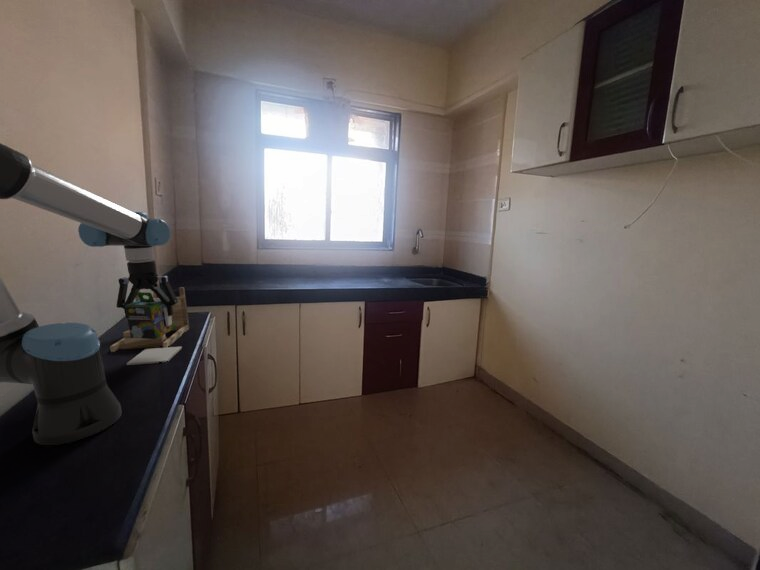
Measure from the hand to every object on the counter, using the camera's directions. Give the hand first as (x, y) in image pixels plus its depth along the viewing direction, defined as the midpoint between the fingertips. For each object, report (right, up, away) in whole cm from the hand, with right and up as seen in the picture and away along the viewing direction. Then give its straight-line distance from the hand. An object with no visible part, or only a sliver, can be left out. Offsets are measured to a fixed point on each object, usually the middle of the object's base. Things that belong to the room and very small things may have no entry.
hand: (151, 326), depth 112 cm
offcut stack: (-10, -9, +11) cm, 18 cm away
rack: (-12, -7, +18) cm, 23 cm away
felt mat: (0, -11, +2) cm, 11 cm away
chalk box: (0, -3, +1) cm, 3 cm away
